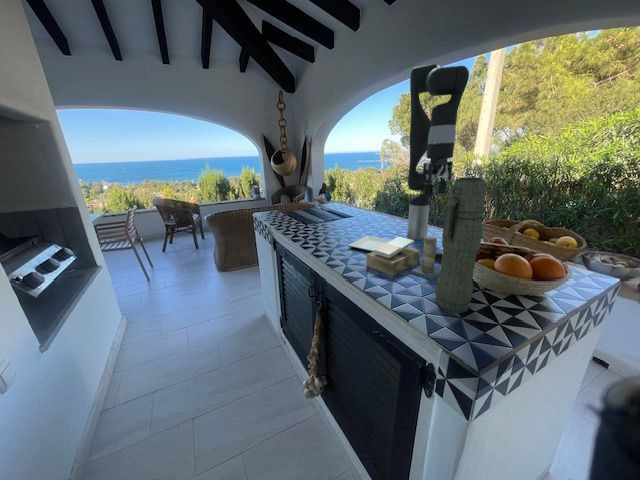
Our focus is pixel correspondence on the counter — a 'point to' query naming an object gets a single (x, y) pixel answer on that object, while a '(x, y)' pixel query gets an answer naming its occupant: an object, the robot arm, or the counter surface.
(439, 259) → the phone
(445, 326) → the counter surface
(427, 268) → the dowel
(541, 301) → the counter surface
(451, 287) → the thermos
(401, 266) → the switch block
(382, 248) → the white flat slab
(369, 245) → the plate
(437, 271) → the slate pad
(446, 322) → the counter surface
